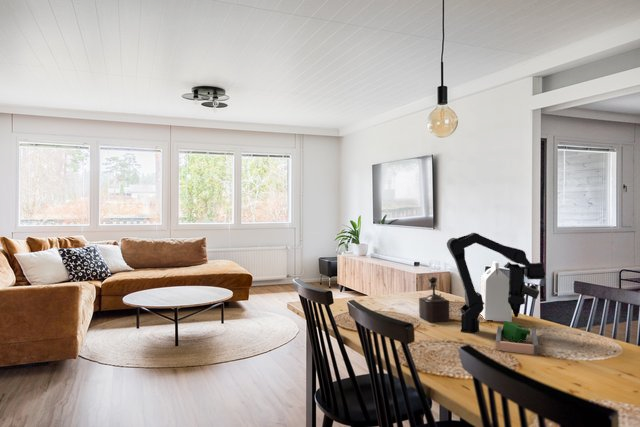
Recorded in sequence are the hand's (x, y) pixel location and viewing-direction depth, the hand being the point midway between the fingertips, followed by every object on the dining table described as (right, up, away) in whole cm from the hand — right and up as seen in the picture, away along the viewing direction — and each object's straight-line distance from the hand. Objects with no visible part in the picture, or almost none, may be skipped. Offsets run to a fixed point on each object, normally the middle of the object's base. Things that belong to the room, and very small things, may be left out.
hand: (516, 316), depth 188 cm
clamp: (-4, -7, -10) cm, 13 cm away
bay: (-7, -7, -15) cm, 18 cm away
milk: (0, -6, +23) cm, 24 cm away
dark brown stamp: (-29, -6, +24) cm, 38 cm away
